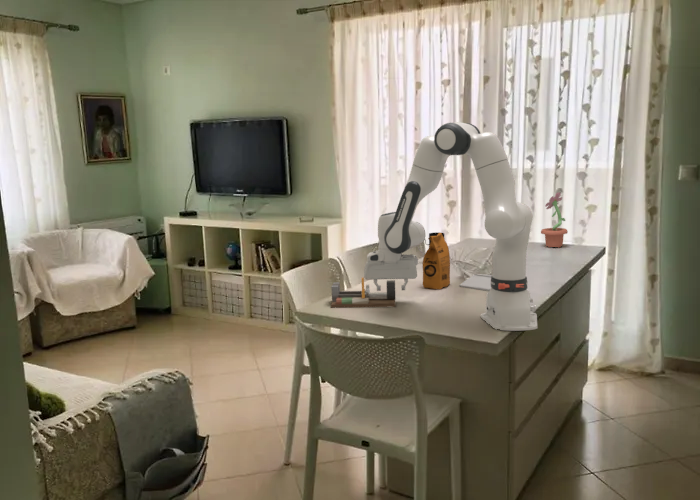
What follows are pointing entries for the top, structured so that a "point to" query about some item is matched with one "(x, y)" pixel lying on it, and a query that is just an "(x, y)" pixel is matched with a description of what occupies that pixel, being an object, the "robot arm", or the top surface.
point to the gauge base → (371, 304)
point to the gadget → (478, 282)
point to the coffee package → (436, 264)
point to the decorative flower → (555, 234)
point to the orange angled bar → (363, 289)
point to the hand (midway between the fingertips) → (391, 290)
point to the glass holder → (430, 240)
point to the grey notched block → (382, 295)
